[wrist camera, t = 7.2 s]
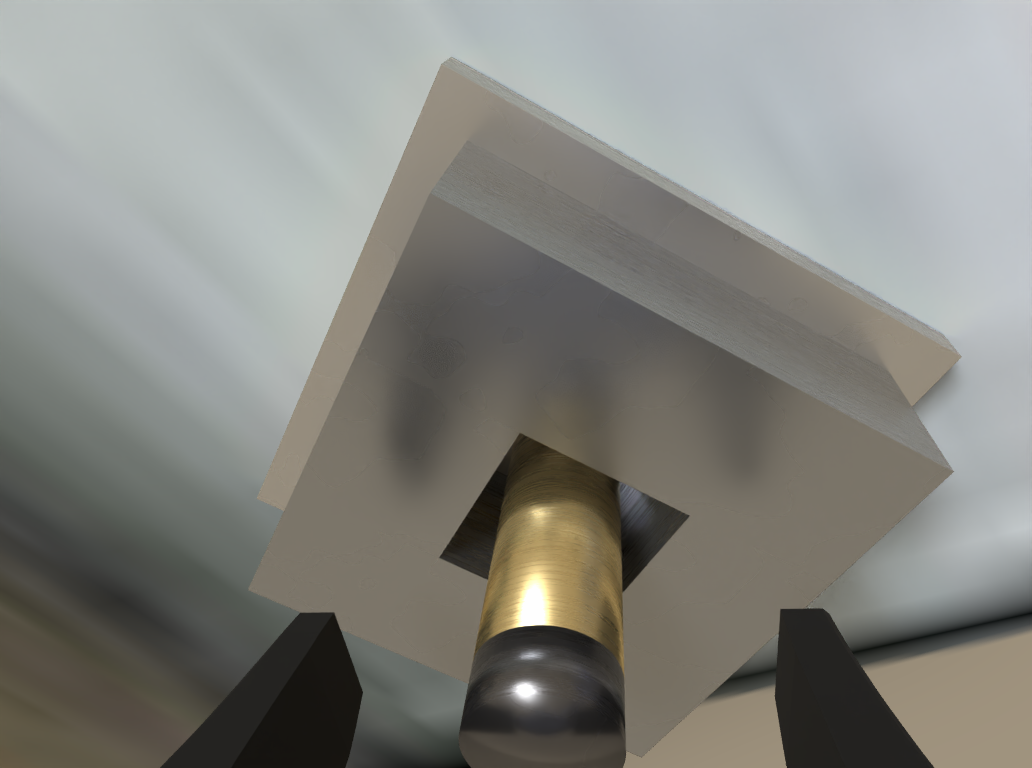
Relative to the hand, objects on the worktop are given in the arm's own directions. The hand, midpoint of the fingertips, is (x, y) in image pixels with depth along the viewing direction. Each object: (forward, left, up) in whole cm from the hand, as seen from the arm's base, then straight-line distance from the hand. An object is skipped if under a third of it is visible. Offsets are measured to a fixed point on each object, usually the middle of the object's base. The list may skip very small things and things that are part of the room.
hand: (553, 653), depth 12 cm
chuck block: (0, 0, -7) cm, 7 cm away
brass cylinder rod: (0, 0, -6) cm, 6 cm away
